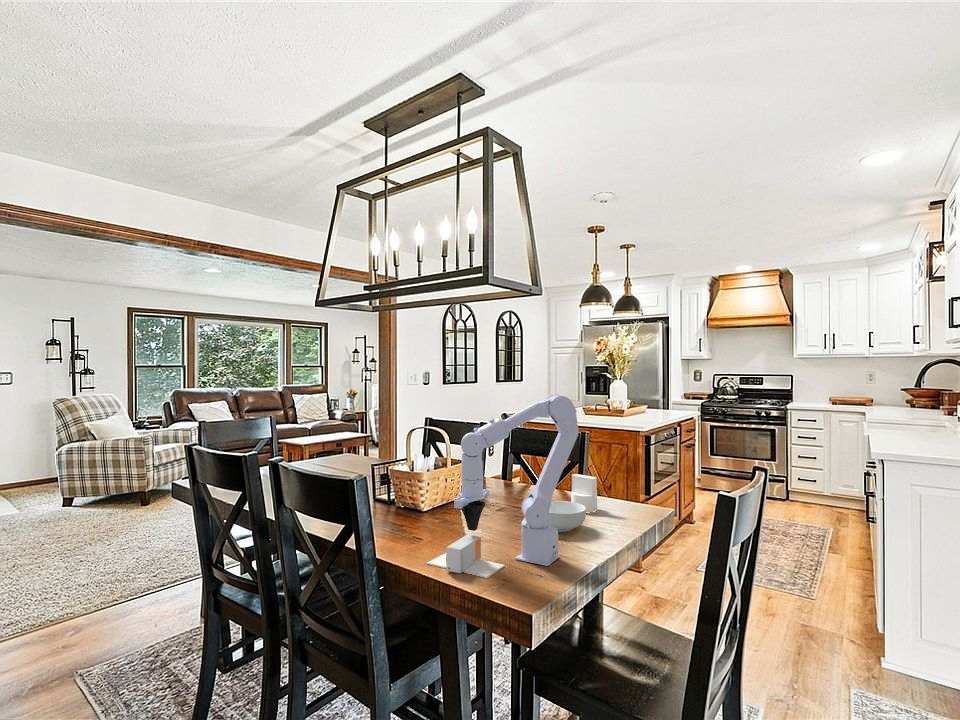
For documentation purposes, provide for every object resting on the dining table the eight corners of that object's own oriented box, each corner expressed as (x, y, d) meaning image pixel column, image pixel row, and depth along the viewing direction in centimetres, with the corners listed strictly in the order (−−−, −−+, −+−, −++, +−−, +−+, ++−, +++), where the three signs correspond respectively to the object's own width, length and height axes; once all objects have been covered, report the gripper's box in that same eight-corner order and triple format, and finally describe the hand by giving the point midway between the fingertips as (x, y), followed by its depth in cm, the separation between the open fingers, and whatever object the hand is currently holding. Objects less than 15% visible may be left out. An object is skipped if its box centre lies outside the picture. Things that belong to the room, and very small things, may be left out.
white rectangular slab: (504, 566, 139) (504, 565, 139) (486, 578, 131) (486, 576, 131) (446, 553, 148) (446, 552, 148) (426, 564, 141) (426, 562, 141)
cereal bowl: (597, 532, 168) (597, 509, 168) (553, 540, 160) (553, 516, 160) (563, 518, 183) (563, 497, 183) (522, 525, 175) (522, 503, 175)
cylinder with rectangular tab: (602, 510, 193) (601, 476, 194) (587, 515, 187) (587, 480, 187) (580, 505, 200) (580, 472, 200) (566, 510, 193) (566, 476, 193)
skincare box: (482, 558, 144) (460, 574, 133) (467, 555, 146) (445, 571, 135) (482, 535, 144) (460, 549, 133) (467, 532, 146) (445, 546, 135)
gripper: (473, 472, 153) (473, 520, 153) (444, 481, 140) (444, 534, 140) (495, 474, 149) (495, 524, 149) (467, 484, 137) (467, 539, 137)
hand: (472, 529), depth 144 cm, fingers closed
